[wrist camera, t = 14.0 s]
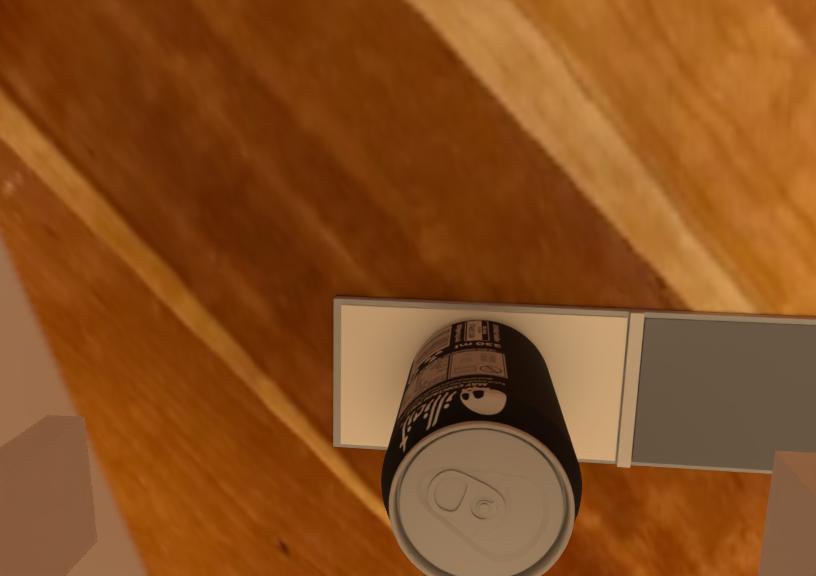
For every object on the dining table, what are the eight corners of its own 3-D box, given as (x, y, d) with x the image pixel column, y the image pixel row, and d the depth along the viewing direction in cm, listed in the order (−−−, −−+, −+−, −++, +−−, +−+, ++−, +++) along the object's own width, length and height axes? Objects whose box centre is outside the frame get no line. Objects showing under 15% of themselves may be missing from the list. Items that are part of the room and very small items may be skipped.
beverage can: (514, 468, 34) (535, 637, 22) (388, 416, 34) (344, 557, 23) (572, 348, 33) (626, 462, 21) (440, 293, 33) (422, 376, 21)
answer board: (335, 296, 34) (332, 299, 33) (953, 322, 32) (966, 327, 31) (335, 441, 36) (332, 449, 35) (924, 477, 33) (936, 486, 32)
